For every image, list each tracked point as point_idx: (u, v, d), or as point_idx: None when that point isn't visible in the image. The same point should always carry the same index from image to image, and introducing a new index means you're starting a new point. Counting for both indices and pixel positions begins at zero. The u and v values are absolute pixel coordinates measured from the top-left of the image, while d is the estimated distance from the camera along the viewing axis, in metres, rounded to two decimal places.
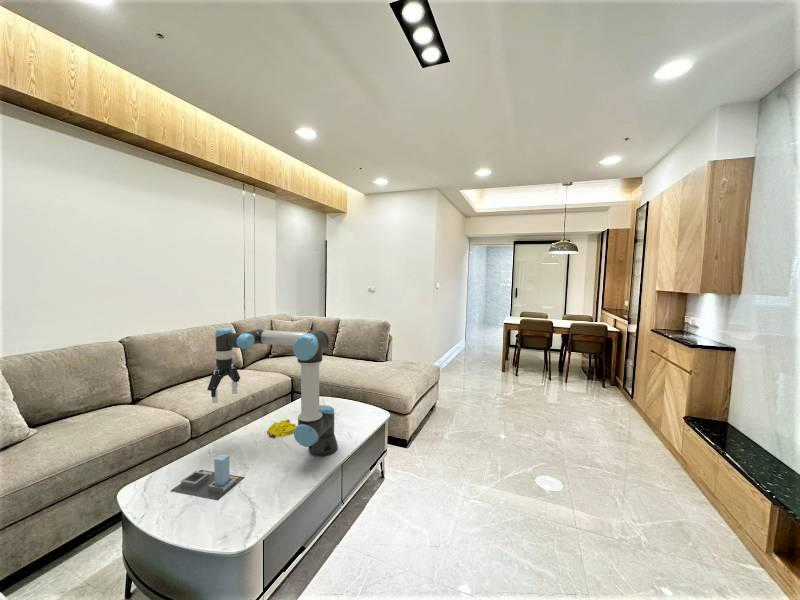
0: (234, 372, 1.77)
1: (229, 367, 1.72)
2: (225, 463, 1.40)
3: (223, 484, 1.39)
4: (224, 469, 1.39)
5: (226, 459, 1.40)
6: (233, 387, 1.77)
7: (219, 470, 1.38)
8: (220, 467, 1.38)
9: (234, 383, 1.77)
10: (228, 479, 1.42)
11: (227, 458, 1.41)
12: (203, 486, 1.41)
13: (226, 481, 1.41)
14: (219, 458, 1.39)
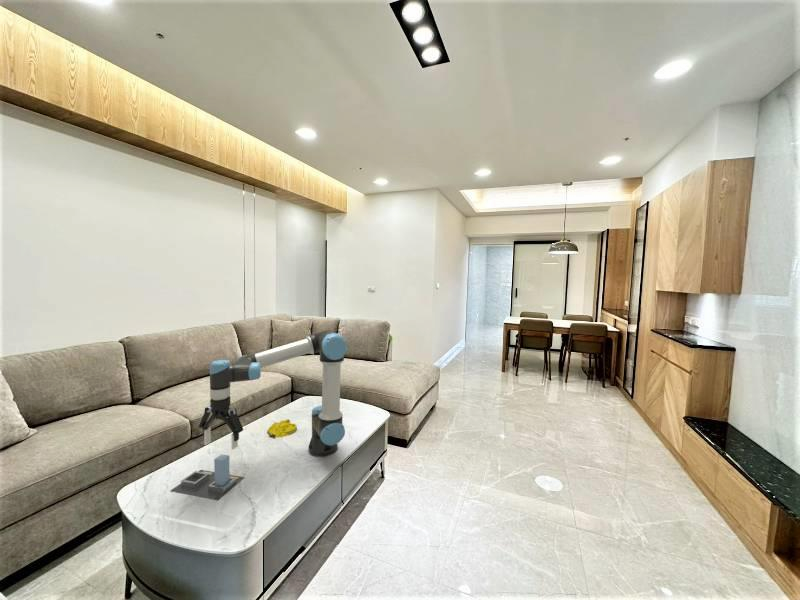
0: None
1: (223, 411, 1.37)
2: (225, 463, 1.40)
3: (223, 484, 1.39)
4: (224, 469, 1.39)
5: (226, 459, 1.40)
6: None
7: (219, 470, 1.38)
8: (220, 467, 1.38)
9: None
10: (228, 479, 1.42)
11: (227, 458, 1.41)
12: (203, 486, 1.41)
13: (226, 481, 1.41)
14: (219, 458, 1.39)
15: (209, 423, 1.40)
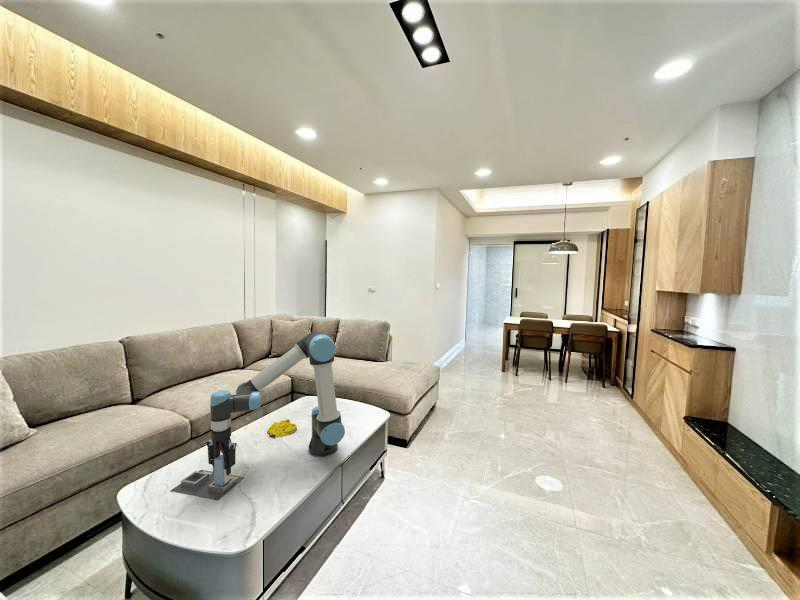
0: None
1: (224, 441, 1.38)
2: None
3: (223, 484, 1.39)
4: None
5: None
6: None
7: (219, 470, 1.38)
8: (220, 467, 1.38)
9: None
10: None
11: None
12: (203, 486, 1.41)
13: None
14: (219, 458, 1.39)
15: (216, 457, 1.40)
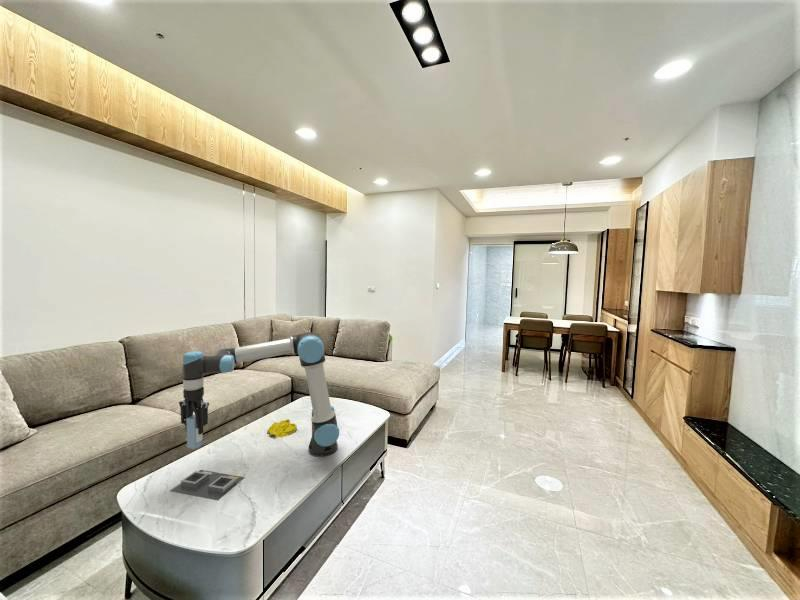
0: None
1: (196, 400, 1.40)
2: None
3: (195, 443, 1.41)
4: None
5: None
6: None
7: (191, 429, 1.40)
8: (192, 426, 1.40)
9: None
10: None
11: None
12: (203, 486, 1.41)
13: None
14: (191, 417, 1.41)
15: (189, 416, 1.42)
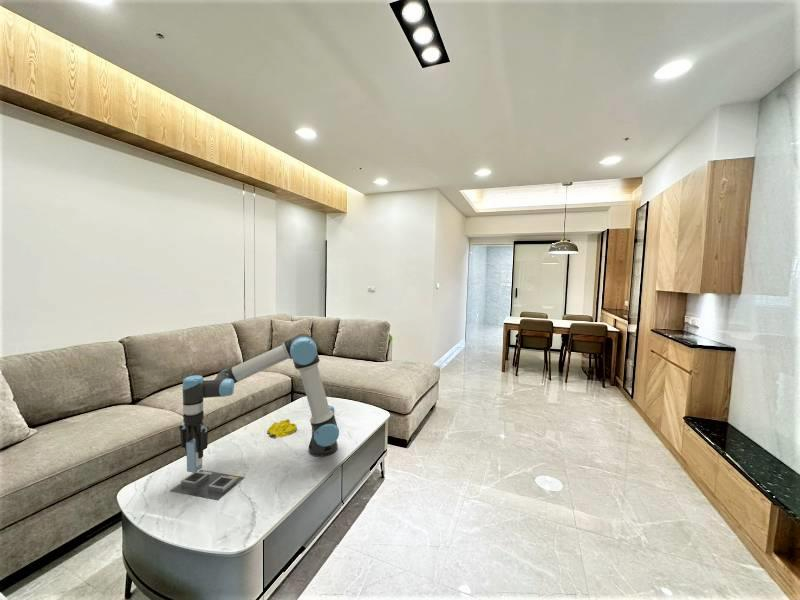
0: None
1: (196, 425, 1.41)
2: None
3: (195, 467, 1.42)
4: None
5: None
6: None
7: (191, 453, 1.41)
8: (192, 450, 1.41)
9: None
10: None
11: None
12: (203, 486, 1.41)
13: None
14: (191, 441, 1.42)
15: (188, 440, 1.43)
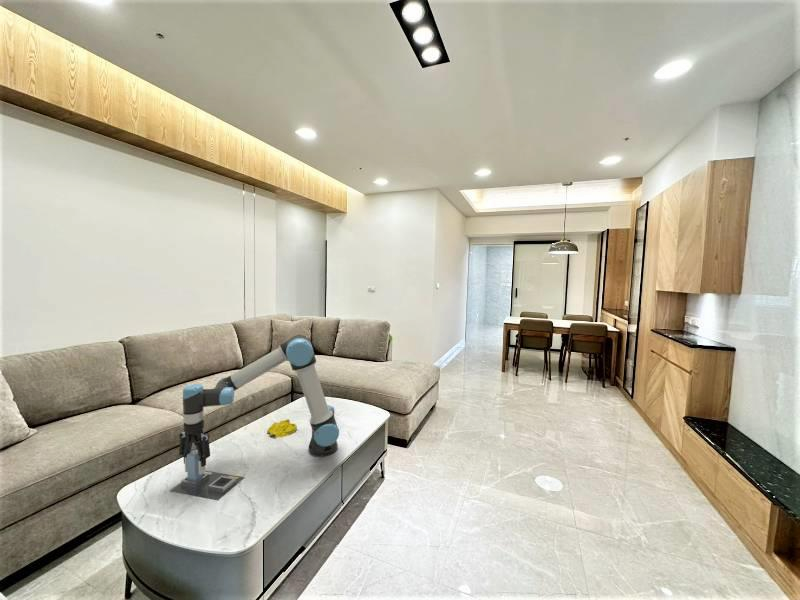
0: None
1: (196, 434, 1.41)
2: (197, 459, 1.43)
3: (196, 479, 1.42)
4: (197, 464, 1.42)
5: (198, 455, 1.43)
6: None
7: (191, 465, 1.42)
8: (193, 462, 1.41)
9: None
10: (201, 474, 1.45)
11: None
12: (203, 486, 1.41)
13: (199, 476, 1.44)
14: (192, 454, 1.43)
15: (187, 449, 1.43)
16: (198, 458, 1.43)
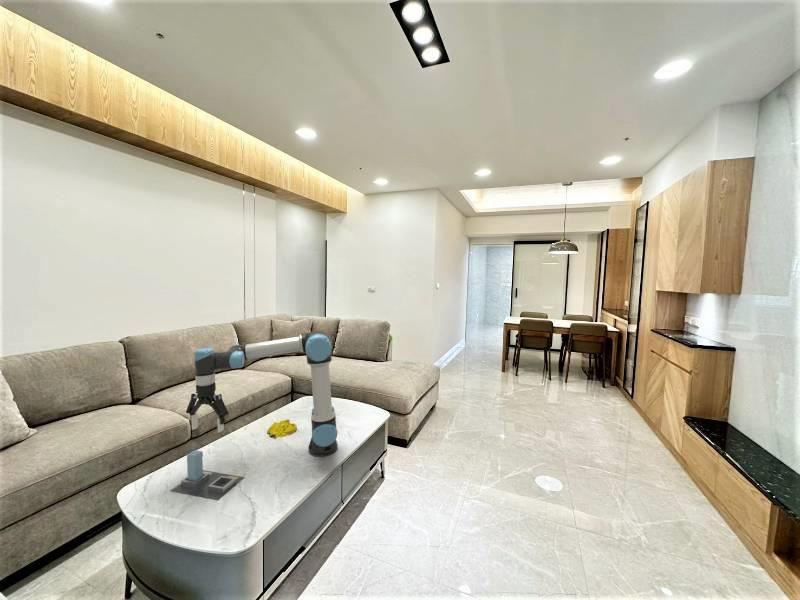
0: None
1: (208, 396, 1.44)
2: (198, 459, 1.43)
3: (196, 479, 1.42)
4: (197, 465, 1.42)
5: (199, 455, 1.43)
6: None
7: (192, 465, 1.42)
8: (193, 462, 1.41)
9: None
10: (201, 474, 1.45)
11: (200, 454, 1.44)
12: (203, 486, 1.41)
13: (199, 476, 1.44)
14: (192, 454, 1.42)
15: (196, 408, 1.46)
16: (198, 458, 1.43)
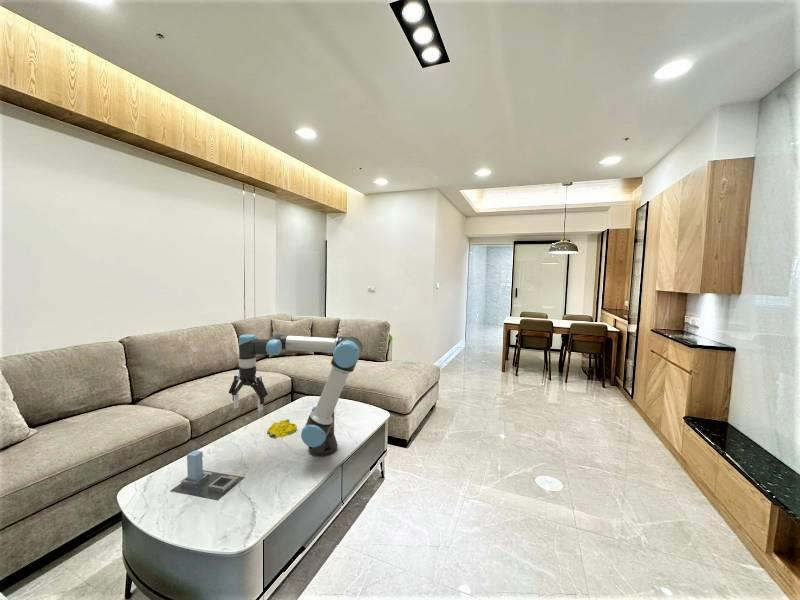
0: None
1: (250, 378, 1.58)
2: (198, 459, 1.43)
3: (196, 479, 1.42)
4: (197, 465, 1.42)
5: (199, 455, 1.43)
6: None
7: (192, 465, 1.42)
8: (193, 462, 1.41)
9: None
10: (201, 474, 1.45)
11: (200, 454, 1.44)
12: (203, 486, 1.41)
13: (199, 476, 1.44)
14: (192, 454, 1.42)
15: (238, 389, 1.60)
16: (198, 458, 1.43)
